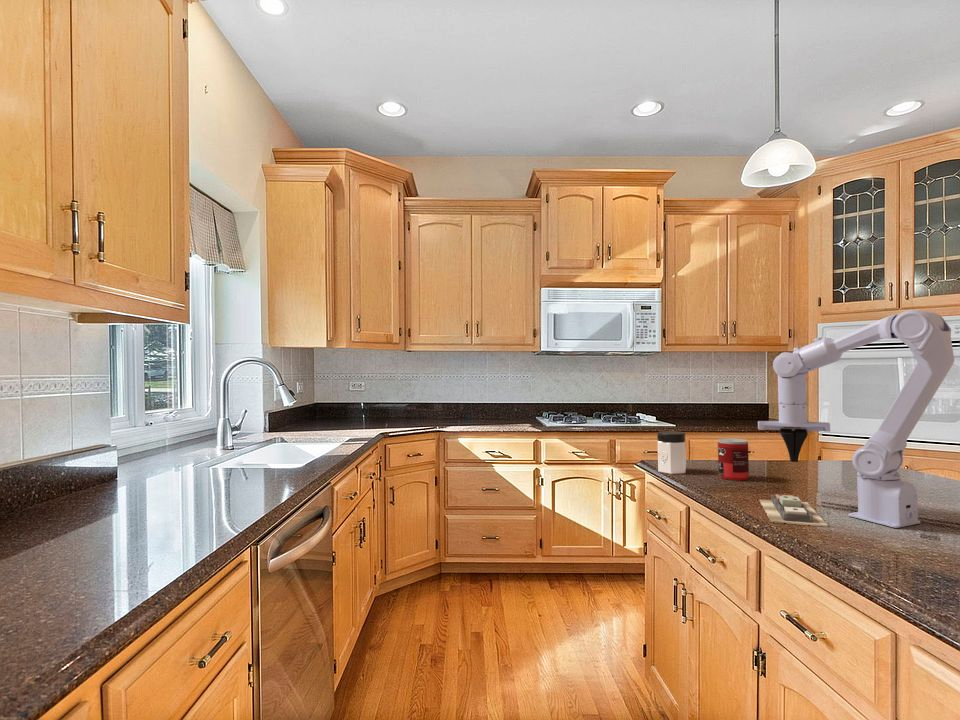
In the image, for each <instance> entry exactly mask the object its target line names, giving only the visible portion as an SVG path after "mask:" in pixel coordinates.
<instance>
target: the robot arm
mask: <svg viewBox="0 0 960 720" xmlns="http://www.w3.org/2000/svg"><path fill="white" fill-rule="evenodd" d="M951 336H952V328H951V326H949V324H948V323H947V321H946V320H945V319H944V317H943V316H942V315H940V314H939V313H937V312H934V311H923V310H920V309H909V310H908V309H907V310H904V311H902V312H900V313H898V314H893V315H889V316H886V317H884V318H881V319H879V320H876V321H874V322H872V323H869V324H868V325H865V326H863V327H861V328H858V329H855V330H854V331H852V332H849V333H847V334H845V335H843V336H841V337H838V338H836V339H832V338H829V337H823V338H822V337H815V338H814V339H813V342H812V343H809V344H806V345H804V346H802V347H794V348H793V351H792V352H789V351H788V352H787V351H786V352H781V353H780V354H778V355H777V356H776V357H775V358H774V360H773V361H772V368H773V371H774V372H775V374H776V375H777V399H778V401H777V403H778V405H777V406H778V420H758V421H757V429H758V430H759V431H760V430H761V431H764V430H768V431H769V430H770V431H779V434H780V435H781V437H782V440H783V442H784V444H785V447H786V449H787V452H788V455H789V457H788V458H789V461H790V462H791V463H799V456H800V452H801V449H802V447H803V445H804V443H805V440H806V439H807V437H808V434H809V433H808V432H828V433H830V432H831V423H830V422H825V421H822V422H821V421H808V407H807V406H808V405H807V404H808V403H807V382H806V381H807V380H806V376H807V374H808V373H809V372H812V371H815V370H817V369H820V368H823V367H825V366H827V365H831V364H833V363H836V362H838V361H839V360H840V359H841V358H842V356H843V354H844V353H845V352H846V353H847V352H848V351H852V350H854V349H857V348H860V347H863V346H865V345H868V344H871V343H874V342H877V341H880V340H883V339H889V340H890V339H891V340H892V339H897V340H899V341H901V342H902V343H904V344H905V345H906V346H907V347H908V348H909V350H910V352H911V353H912V355H913V357H914V358H915V360H916V364H915V365H914V368H913V369H912V371H911V373H910V375H909V376H908V378H907V379H906V381H905V383H904V385H903V387H902V388H901V389H900V391H899V393H898V395H897V396H896V398H895V399H894V401H893V403H892V405H891V406H890V408H889V410H888V412H887V413H886V415H885V416H884V418H883V419H882V422H881V424H880V425H879V427H878V428H877V430H876V431H875V432H874V433H873V434H872V435H871V436H870V437H869V438H868V440H867V441H866V443H865V444H864V445H863V446H861V447H859V448H858V449H856V450H855V452H853V454H852V458H851V462H852V466H853V467H854V469H855V470H856V471H857V472H856V481H857V483H856V485H857V486H856V487H857V488H856V489H857V511H855V512H851V513H850V512H849V513H848V515H847V516H848V517H851V518H855V519H859V520H863V521H866V522H871V523H875V524H878V525H882V526H883V525H884V526H886V527H887V526H888V527H891V528H895V529H898V528H902V527H903V528H904V527H908V526H912V525H917V524H918V525H919V524H921V521H920V520H919V515H918V514H919V512H918V511H919V510H918V505H919V504H918V493H917V491H918V490H917V488H916V486H915V484H913V483H912V482H911V483H910V482H907V481H904V480H902V479H901V475H900V473H899V472H898V470H899V469H900V468H901V466H902V465H903V462H904V452H905V450H906V448H907V444H908V442H907V441H908V438H909V437H910V435H911V434H912V432H913V430H914V428H916V425H917V424H918V422H919V421H920V420H921V417H922V415H923V414H924V412H925V411H926V409H927V407H928V406H929V404H930V403H931V401H932V399H933V398H934V396H935V395H936V393H937V391H938V390H939V388H940V387H941V385H942V383H943V381H944V379H945V378H946V376H947V375H948V374H949V372H950V370H951V368H952V367H953V365H954V363H955V355H954V350H953V343H952V337H951Z"/></svg>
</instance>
